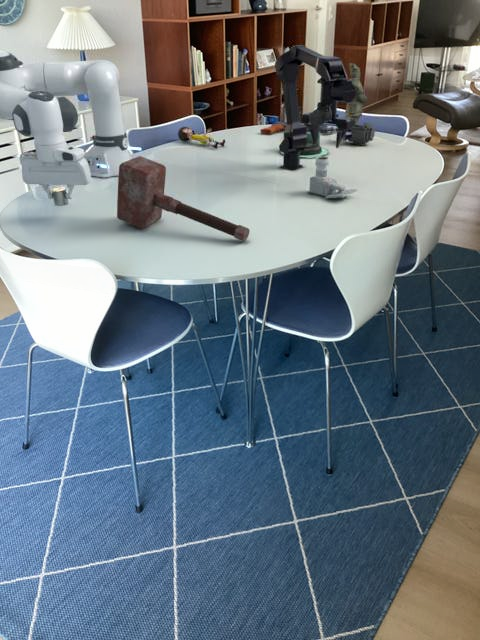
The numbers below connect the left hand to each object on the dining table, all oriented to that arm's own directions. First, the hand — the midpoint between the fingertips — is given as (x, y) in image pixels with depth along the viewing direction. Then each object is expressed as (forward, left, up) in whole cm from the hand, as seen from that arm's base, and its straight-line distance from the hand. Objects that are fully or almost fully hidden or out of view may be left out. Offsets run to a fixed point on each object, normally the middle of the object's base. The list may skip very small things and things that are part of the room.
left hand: (60, 198), depth 168 cm
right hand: (+69, +60, +6) cm, 92 cm away
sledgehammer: (+41, 0, -6) cm, 41 cm away
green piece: (+52, +98, -6) cm, 111 cm away
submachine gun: (+41, +131, -6) cm, 137 cm away
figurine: (+4, +101, -6) cm, 101 cm away
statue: (+66, +145, -6) cm, 159 cm away
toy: (+71, +118, -6) cm, 138 cm away
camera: (+75, +43, -6) cm, 86 cm away
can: (0, 0, -2) cm, 2 cm away
